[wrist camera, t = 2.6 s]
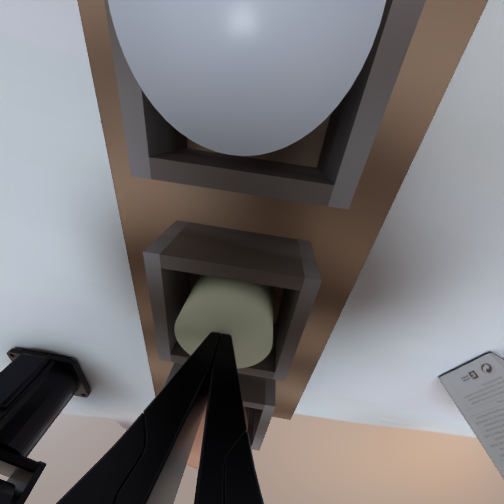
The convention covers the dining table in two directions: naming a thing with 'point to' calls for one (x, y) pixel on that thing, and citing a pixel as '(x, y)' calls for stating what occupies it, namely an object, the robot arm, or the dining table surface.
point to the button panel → (271, 195)
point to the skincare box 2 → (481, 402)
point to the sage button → (228, 317)
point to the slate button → (246, 64)
